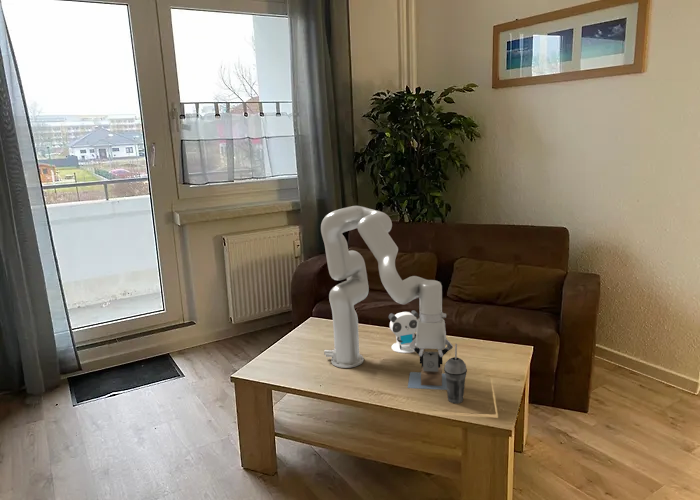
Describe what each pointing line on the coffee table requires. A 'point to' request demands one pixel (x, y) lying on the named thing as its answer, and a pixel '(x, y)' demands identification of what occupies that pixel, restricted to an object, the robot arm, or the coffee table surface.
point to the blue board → (416, 383)
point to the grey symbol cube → (430, 361)
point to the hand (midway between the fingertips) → (431, 365)
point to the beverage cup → (455, 378)
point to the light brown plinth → (431, 377)
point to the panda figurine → (403, 330)
